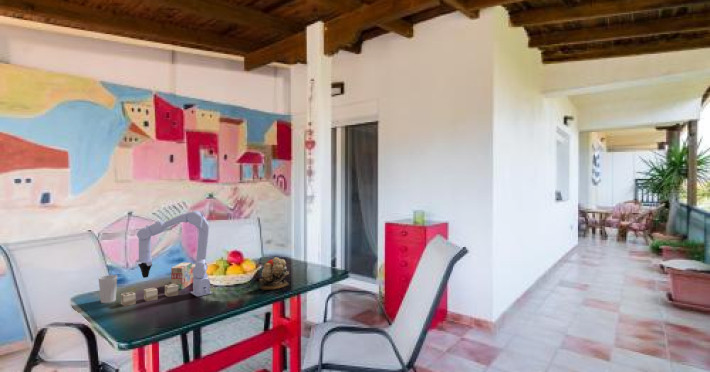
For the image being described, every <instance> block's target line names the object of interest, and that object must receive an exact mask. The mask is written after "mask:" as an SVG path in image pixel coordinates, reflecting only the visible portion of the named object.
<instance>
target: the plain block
mask: <svg viewBox="0 0 710 372" xmlns="http://www.w3.org/2000/svg"><path fill="white" fill-rule="evenodd" d="M158 297H159V293H158V289H157V288H156V287H148V288H145V289H143V299H145V300H144V301H146V302H151V301H155V300H158V299H159V298H158Z"/></svg>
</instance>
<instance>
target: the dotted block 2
mask: <svg viewBox="0 0 710 372" xmlns="http://www.w3.org/2000/svg"><path fill="white" fill-rule="evenodd" d="M164 295H165V296H166V297H168V298H169V297H174V296H178V295H179V289H178V285H176V284H172V283H170V284H166V285H164Z"/></svg>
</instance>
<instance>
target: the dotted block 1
mask: <svg viewBox="0 0 710 372" xmlns="http://www.w3.org/2000/svg"><path fill="white" fill-rule="evenodd" d="M136 297H137V296H136V293H135V292H133V291H129V292H124V293H121V294H120V299H121V300H120V301H121V302H120V304H121V305H122V307H126V306H133V305H136V304H137V301H136V300H137V298H136Z"/></svg>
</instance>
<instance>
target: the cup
mask: <svg viewBox="0 0 710 372" xmlns="http://www.w3.org/2000/svg"><path fill="white" fill-rule="evenodd" d="M117 285H118V275H117V274H109V275H103V276H100V277H98V286H99V294H100V303H101V304H107V303H108V304H109V303H112V302H115V301H117Z"/></svg>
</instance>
